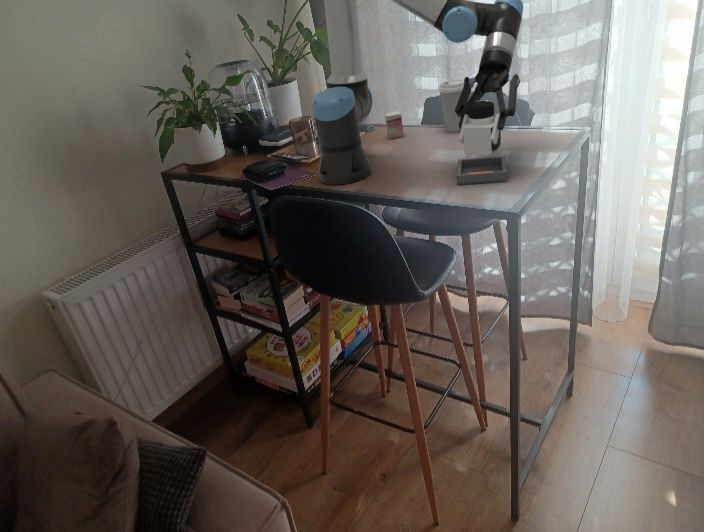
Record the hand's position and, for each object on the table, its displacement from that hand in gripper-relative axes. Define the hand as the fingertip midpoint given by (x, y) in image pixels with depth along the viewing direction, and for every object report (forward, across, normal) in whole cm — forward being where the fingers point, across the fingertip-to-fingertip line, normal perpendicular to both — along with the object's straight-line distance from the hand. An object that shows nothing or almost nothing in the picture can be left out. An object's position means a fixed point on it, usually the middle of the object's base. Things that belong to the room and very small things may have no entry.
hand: (477, 141), depth 126 cm
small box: (-16, +41, -30) cm, 54 cm away
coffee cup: (-22, +23, -37) cm, 49 cm away
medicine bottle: (0, 0, -5) cm, 5 cm away
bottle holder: (+5, +1, -9) cm, 10 cm away
